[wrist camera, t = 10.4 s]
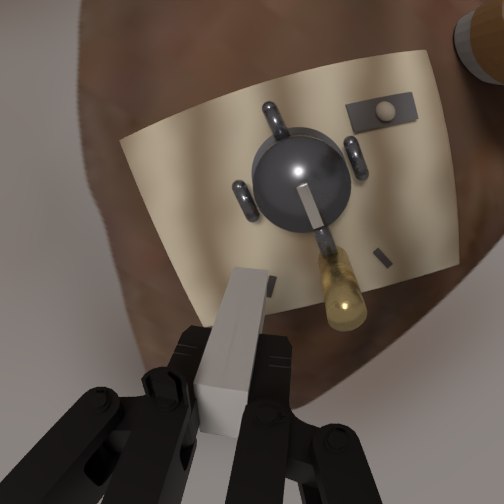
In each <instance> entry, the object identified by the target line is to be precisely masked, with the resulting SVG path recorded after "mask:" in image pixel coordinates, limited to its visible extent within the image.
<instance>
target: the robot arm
mask: <svg viewBox="0 0 504 504" xmlns="http://www.w3.org/2000/svg"><path fill="white" fill-rule="evenodd" d="M268 271H269V270H263V269H253V268H244V267H234V268H233V271H232V274H231V277H230V279H229V282H228V285H227V288H226V291H225V294H224V296H223V299H222V302H221V305H220V308H219V311H218V313H217V316H216V319H215V322H214V325H213V328H206V327H199V326H192V325H191V326H190V327H189V328H188V329H187V330H185V331H184V332H183V333H182V335H181V337H180V339H179V341H178V345H177V346H176V348H175V350H174V354H173V355H172V357H171V359H170V362H169V364H168V366H167V367H158V368H154V369H152V370H150V371H148V372H147V373H145V375H144V376H143V377H142V379H141V380H142V383H143V387H144V390H145V393H146V395H143V396H137V397H118V395H117V393H116V392H114V391H113V390H112V389H110V388H107V387H96V388H92V389H90V390H88V391H87V392H86V393H84V394H83V395H82V396H81V397H80V398H79V399H78V400H77V402H76V403H75V404H74V405H73V406H72V407H71V408H70V409H69V410H68V411H67V412H66V413H65V414H64V415H63V416H62V417H61V418H60V419H59V421H58V422H56V423H55V425H54V426H53V427H52V428H51V429H50V430H49V431H48V432H47V433H46V434H45V435H44V436H43V437H42V438H41V439H40V440H39V441H38V443H37V444H36V445H35V446H34V447H33V448H32V449H31V450H30V451H29V452H28V453H27V454H26V455H25V456H24V458H23V459H22V460H21V461H20V462H19V463H18V464H17V465H16V466H15V467H14V469H12V471H11V472H10V473H9V474H8V475H7V476H6V477H5V478H4V479H3V480H2V481H1V483H0V504H97V503H98V502H99V500H100V499H101V498H102V496H103V495H104V494H105V495H104V497H103V500H102V502H101V504H181V500H182V497H183V493H184V489H185V486H186V482H187V479H188V475H189V471H190V468H191V464H192V461H193V457H194V453H195V450H196V446H197V445H196V444H197V439H196V434H197V431H198V428H200V432H204V433H210V434H215V435H221V436H227V437H234V438H238V441H237V446H236V451H235V456H234V461H233V466H232V471H231V476H230V481H229V486H228V491H227V496H226V501H225V504H283V495H284V485H285V478H288V479H291V480H294V481H296V482H298V486H299V491H300V495H301V499H302V504H382V501H381V498H380V495H379V492H378V489H377V487H376V484H375V481H374V479H373V476H372V473H371V470H370V467H369V465H368V462H367V459H366V456H365V454H364V451H363V448H362V446H361V443H360V440H359V438H358V436H357V435H356V433H355V431H353V430H352V429H351V428H349V427H348V426H345V425H342V424H328V425H325V426H322V427H321V428H319V427H316V426H313V425H310V424H307V423H305V422H303V421H301V420H299V419H298V418H297V417H295V415H294V414H293V413H292V411H291V409H290V406H289V394H290V376H291V356H292V346H291V344H290V342H289V340H288V338H287V337H286V336H276V335H267V334H262V330H263V324H264V315H265V305H266V294H267V282H268Z"/></svg>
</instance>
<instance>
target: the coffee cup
mask: <svg viewBox="0 0 504 504" xmlns="http://www.w3.org/2000/svg"><path fill="white" fill-rule="evenodd" d="M454 41H455V47H456V50H457V54H458V55H459V57H460V59H461V61H462V63H463V64H464V65H465V67H466V68H467V69H468V70H469V71H470V72H471V73H472V74H473V75H474V76H475V77H477V78H478V79H480V80H482V81H483V82H487V83H490V84H498V85H504V0H491V1H489V2H487V3H485V4H483V5H481V6H480V7H479V8H477V9H476V10H474V11H472V12H470V13H468V14H466V15H465V16H463V17H462V18H461V19H460V20H459V21H458V23H457V25H456V28H455V34H454Z"/></svg>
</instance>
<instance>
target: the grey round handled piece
mask: <svg viewBox="0 0 504 504" xmlns="http://www.w3.org/2000/svg"><path fill="white" fill-rule="evenodd" d="M262 112H263V114H264V116H265V118H266V121H267V123H268V125H269V127H270V129H271V131H272V134H273V136H274V138H275V141H274V142H273V143H271V144H270V145H269V146H268V147H267V148H266V150H265V151H264V152H263V154H262V156H261V158H260V160H259V162H258V164H257V166H256V169H255V172H254V176H253V194H254V198H255V201H256V204H257V206H258V208H259V209H260V211H261V212H262V214H263V215H264V216H265V217H266V218H267V219H268V220H269V221H270V222H271V223H273V224H274V225H276V226H277V227H279V228H282V229H284V230H287V231H290V232H295V233H309V232H313V234H314V236H315V239H316V241H317V244H318V246H319V249H320V251H321V253H320V254H319V256H318V266H319V272H320V278H321V283H322V289H323V295H324V301H325V308H326V314H327V320H328V323H329V325H330V326H331V327H332V328H333V329H335V330H338V331H351V330H354V329H356V328H358V327H359V326H361V325H362V324H363V323H364V321H365V319H366V317H367V308H366V305H365V302H364V299H363V297H362V294H361V291H360V288H359V285H358V282H357V279H356V276H355V274H354V271H353V268H352V265H351V263H350V260H349V257H348V255H347V253H346V251H345V250H344V249H343V248H341V247H338V246H336V244H335V242H334V239H333V236H332V233H331V231H330V228H329V225H330V224H332V223H333V222H334V221H335V220H336V219H337V218H338V217H339V216H340V215H341V214H342V213H343V211H344V210H345V208H346V206H347V204H348V201H349V198H350V194H351V177H350V173H349V169H348V167H347V165H346V163H345V161H344V160H343V158H342V157H341V156H340V154H339V153H338V152H337V151H336V150H335V149H333V148H332V147H331V146H330V145H329V144H328V143H326V142H325V141H324V140H322V139H320V138H318V137H316V136H313V135H309V134H303V133H296V134H289V131H288V129H287V127H286V125H285V122H284V120H283V118H282V116H281V114H280V112H279V109H278V107H277V105H276V104H275V103H274V102H272V101H267V102H265V103H264V104H263V105H262ZM343 145H344V147H345V150H346V153H347V155H348V158H349V161H350V163H351V166H352V169H353V172H354V175H355V177H356V179H358V180H359V181H365V180H367V179H368V177H369V171H368V168H367V165H366V162H365V159H364V156H363V154H362V151H361V148H360V145H359V143H358V140H357V139H356V138H355V137H354V136H347V137H346V138H345V139H344V141H343ZM232 190H233V193H234V195H235V197H236V199H237V201H238V203H239V205H240V207H241V209H242V211H243V213H244V215H245V217H246V219H247V220H248V221H249V222H252V223H254V222H256V221H258V220H259V218H260V213H259V211H258V209H257V206H256V204H255V202H254V200H253V198H252V196H251V194H250V192H249V189H248V187H247V185H246V183H245V182H244V181H243V180H236V181H234V182H233V184H232Z"/></svg>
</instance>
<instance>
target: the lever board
mask: <svg viewBox="0 0 504 504" xmlns="http://www.w3.org/2000/svg"><path fill="white" fill-rule="evenodd" d="M267 101H272V102H274V103H275V104H276V105H277V107H278V109H279V112H280V114H281V116H282V118H283V120H284V122H285V125H286V127H287V129H288V131H289V134H296V133H303V134H309V135H313V136H316V137H318V138H320V139H322V140H324V141H325V142H326V143H328V144H329V145H330V146H331V147H332V148H333V149H335V150H336V151H337V152H338V153H339V154H340V156H341V157H342V158H343V160H344V161H345V163H346V165H347V167H348V169H349V173H350V177H351V194H350V198H349V201H348V204H347V206H346V208H345V210H344V211H343V213H342V214H341V215H340V216H339V217H338V218H337V219H336V220H335V221H334V222H333V223H332V224H330V225H329V228H330V231H331V233H332V236H333V239H334V242H335V244H336V246H338V247H341V248H343V249H344V250H345V251H346V253H347V255H348V257H349V260H350V263H351V265H352V268H353V271H354V274H355V276H356V279H357V282H358V285H359V288H360V291H361V293H362V292H366V291H369V290H373V289H377V288H380V287H384V286H388V285H391V284H395V283H398V282H402V281H406V280H409V279H412V278H416V277H419V276H423V275H426V274H429V273H433V272H436V271H439V270H442V269H446V268H449V267H452V266H455V265H458V264H459V230H458V213H457V200H456V190H455V180H454V172H453V165H452V158H451V151H450V145H449V139H448V134H447V129H446V124H445V119H444V114H443V110H442V105H441V101H440V97H439V93H438V89H437V85H436V81H435V78H434V74H433V71H432V67H431V64H430V61H429V57H428V54H427V51H426V50H417V51H408V52H400V53H392V54H385V55H379V56H373V57H367V58H361V59H356V60H351V61H346V62H341V63H336V64H331V65H327V66H323V67H318V68H314V69H310V70H306V71H302V72H298V73H295V74H291V75H287V76H284V77H280V78H277V79H273V80H270V81H266V82H263V83H260V84H257V85H254V86H251V87H247V88H244V89H241V90H238V91H236V92H233V93H230V94H227V95H224V96H221V97H219V98H216V99H213V100H210V101H208V102H205V103H203V104H200V105H197V106H195V107H192V108H190V109H187V110H185V111H183V112H180V113H178V114H175V115H173V116H171V117H168V118H166V119H164V120H162V121H159V122H157V123H155V124H153V125H151V126H148V127H146V128H144V129H142V130H140V131H138V132H136V133H134V134H132V135H130V136H127V137H125V138H123V139H121V140H119V141H120V143H121V146H122V148H123V151H124V154H125V156H126V159H127V161H128V164H129V166H130V169H131V171H132V174H133V176H134V179H135V181H136V183H137V186H138V188H139V191H140V193H141V195H142V198H143V200H144V202H145V205H146V207H147V209H148V212H149V214H150V216H151V218H152V221H153V223H154V225H155V227H156V230H157V232H158V234H159V236H160V239H161V241H162V243H163V245H164V247H165V249H166V252H167V254H168V256H169V258H170V260H171V262H172V264H173V266H174V269H175V271H176V273H177V275H178V277H179V279H180V281H181V283H182V285H183V287H184V289H185V291H186V293H187V295H188V297H189V299H190V301H191V303H192V305H193V307H194V309H195V311H196V313H197V315H198V317H199V319H200V321H201V323H202V325H203V326H204V327H209V326H213V325H214V322H215V319H216V316H217V313H218V311H219V308H220V305H221V302H222V299H223V296H224V294H225V291H226V288H227V285H228V282H229V279H230V277H231V274H232V271H233V268H234V267H244V268H253V269H263V270H269V271H268V282H267V294H266V305H265V315H269V314H274V313H279V312H283V311H288V310H292V309H296V308H301V307H305V306H309V305H314V304H318V303H322V302H325V301H324V295H323V289H322V283H321V278H320V272H319V266H318V256H319V254H320V253H321V251H320V249H319V246H318V244H317V241H316V239H315V236H314V234H313V232H309V233H295V232H290V231H287V230H284V229H282V228H279V227H277V226H276V225H274V224H273V223H271V222H270V221H269V220H268V219H267V218H266V217H265V216H264V215H263V214H262V212H261V211H260V209H259V208H258V206H257V204H256V201H255V198H254V194H253V176H254V172H255V169H256V166H257V164H258V162H259V160H260V158H261V156H262V154H263V152H264V151H265V150H266V148H267V147H268V146H269V145H270V144H271V143H273V142H274V141H275V138H274V136H273V134H272V131H271V129H270V127H269V125H268V123H267V121H266V118H265V116H264V114H263V112H262V105H263V104H264V103H265V102H267ZM347 136H354V137H355V138H356V139H357V140H358V143H359V145H360V148H361V151H362V154H363V156H364V159H365V162H366V165H367V168H368V171H369V177H368V179H367V180H365V181H359V180H358V179H356V177H355V175H354V172H353V169H352V166H351V163H350V161H349V158H348V155H347V153H346V150H345V147H344V145H343V141H344V139H345V138H346V137H347ZM236 180H243V181H244V182H245V183H246V185H247V187H248V189H249V192H250V194H251V196H252V198H253V200H254V202H255V204H256V206H257V209H258V211H259V213H260V218H259V220H258V221H256V222H254V223H252V222H249V221H248V220H247V219H246V217H245V215H244V213H243V211H242V209H241V207H240V205H239V203H238V201H237V199H236V197H235V195H234V193H233V190H232V184H233V182H234V181H236ZM265 315H264V316H265Z"/></svg>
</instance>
